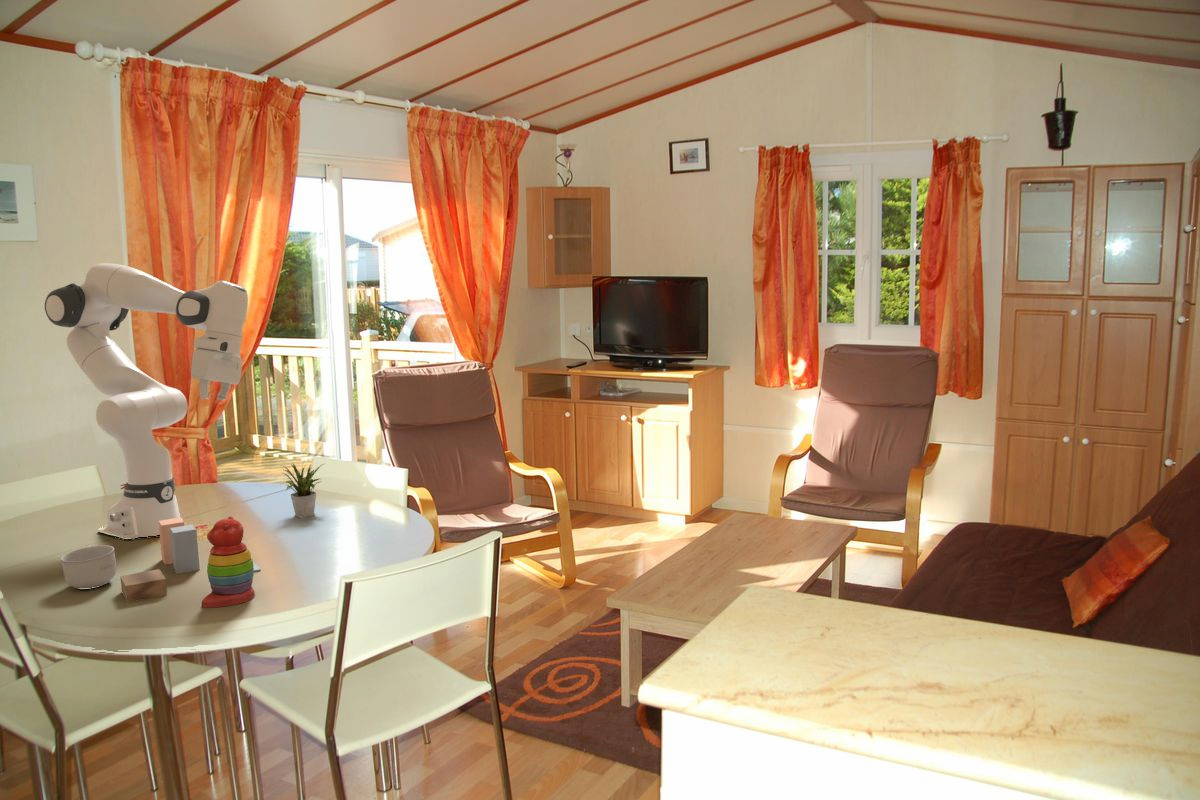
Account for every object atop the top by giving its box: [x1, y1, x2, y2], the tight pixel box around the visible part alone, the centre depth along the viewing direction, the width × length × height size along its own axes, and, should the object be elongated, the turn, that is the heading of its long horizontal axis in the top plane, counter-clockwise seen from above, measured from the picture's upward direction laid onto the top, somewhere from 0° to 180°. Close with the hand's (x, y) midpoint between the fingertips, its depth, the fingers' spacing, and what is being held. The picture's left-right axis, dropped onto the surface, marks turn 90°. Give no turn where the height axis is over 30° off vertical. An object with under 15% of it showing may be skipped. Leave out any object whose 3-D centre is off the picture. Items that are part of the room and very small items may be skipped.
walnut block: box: [120, 568, 168, 603], centre depth 206 cm, size 8×8×4 cm
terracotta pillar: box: [158, 517, 185, 565], centre depth 229 cm, size 5×5×10 cm
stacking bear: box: [201, 516, 256, 608], centre depth 201 cm, size 11×10×18 cm
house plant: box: [280, 459, 325, 518], centre depth 268 cm, size 14×14×16 cm
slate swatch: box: [253, 562, 261, 573], centre depth 221 cm, size 6×6×1 cm
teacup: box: [60, 544, 117, 589], centre depth 213 cm, size 14×11×8 cm
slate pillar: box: [170, 524, 201, 575], centre depth 222 cm, size 5×5×10 cm
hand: (212, 399), depth 234 cm, fingers open, 8 cm apart
